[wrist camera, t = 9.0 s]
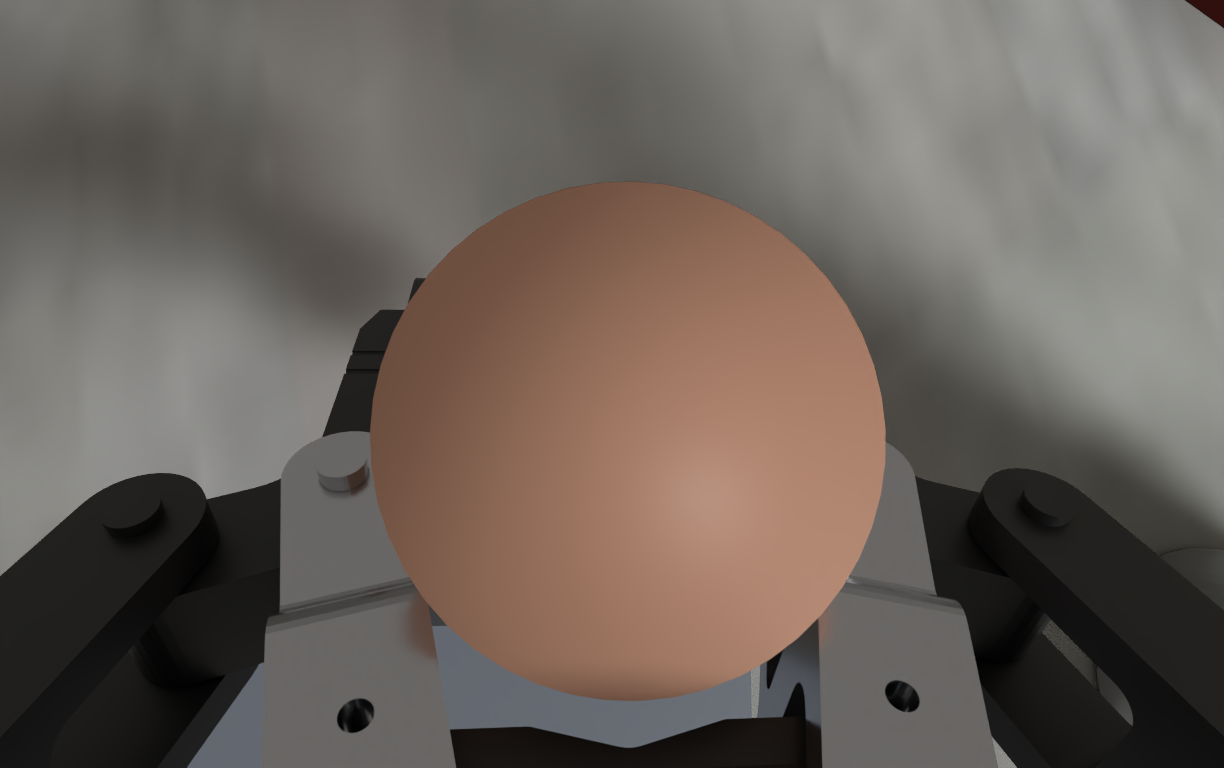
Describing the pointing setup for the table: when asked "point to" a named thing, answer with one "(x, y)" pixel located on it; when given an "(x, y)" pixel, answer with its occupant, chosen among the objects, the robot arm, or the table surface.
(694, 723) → the socket block
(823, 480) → the peg
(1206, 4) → the trophy
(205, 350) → the table surface
